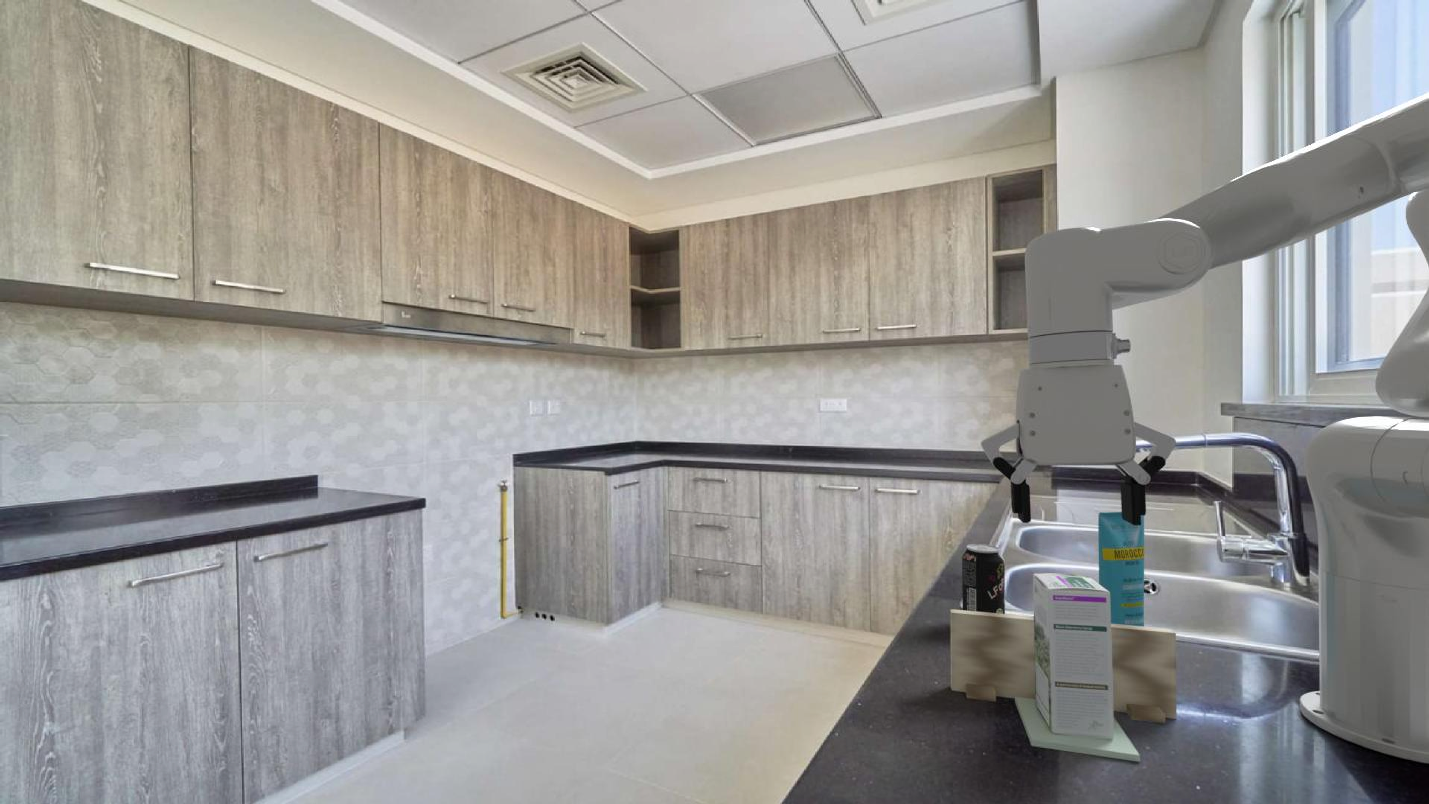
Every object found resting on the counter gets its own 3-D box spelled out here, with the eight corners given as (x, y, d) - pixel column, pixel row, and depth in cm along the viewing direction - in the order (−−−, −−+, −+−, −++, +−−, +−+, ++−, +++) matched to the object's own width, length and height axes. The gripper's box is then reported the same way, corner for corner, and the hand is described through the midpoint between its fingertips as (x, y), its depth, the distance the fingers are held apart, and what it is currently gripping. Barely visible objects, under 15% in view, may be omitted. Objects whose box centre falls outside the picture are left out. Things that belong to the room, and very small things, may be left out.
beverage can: (1003, 624, 91) (1003, 544, 91) (1006, 638, 85) (1005, 553, 85) (962, 619, 93) (962, 541, 93) (962, 632, 87) (962, 549, 88)
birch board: (1166, 707, 66) (1165, 624, 66) (1182, 725, 62) (1181, 638, 62) (950, 680, 72) (949, 605, 72) (952, 695, 68) (952, 616, 68)
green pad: (1108, 714, 64) (1108, 708, 64) (1139, 761, 56) (1139, 755, 56) (1015, 702, 67) (1015, 696, 67) (1031, 745, 58) (1031, 739, 58)
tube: (1120, 669, 75) (1119, 515, 75) (1084, 654, 80) (1083, 508, 80) (1160, 659, 78) (1158, 510, 78) (1122, 646, 82) (1121, 505, 82)
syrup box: (1116, 741, 58) (1115, 590, 58) (1049, 734, 59) (1047, 586, 59) (1093, 712, 64) (1092, 574, 64) (1032, 706, 65) (1031, 571, 65)
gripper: (1154, 351, 63) (1161, 516, 62) (974, 361, 68) (979, 513, 68) (1187, 345, 55) (1194, 531, 55) (982, 356, 60) (989, 527, 60)
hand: (1076, 521), depth 61 cm, fingers open, 9 cm apart
